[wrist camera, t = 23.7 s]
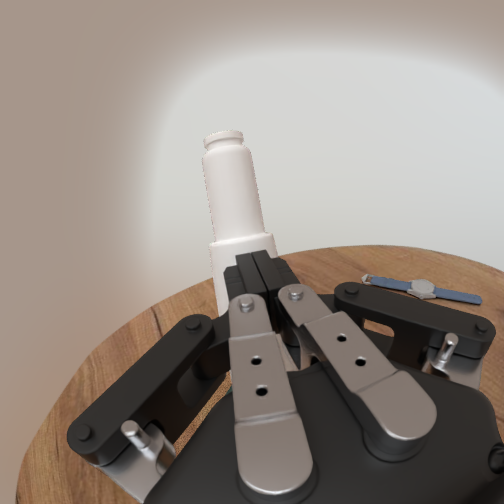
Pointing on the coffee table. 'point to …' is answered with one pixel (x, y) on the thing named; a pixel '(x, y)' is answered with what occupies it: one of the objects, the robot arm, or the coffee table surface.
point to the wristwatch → (422, 289)
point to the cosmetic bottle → (233, 211)
